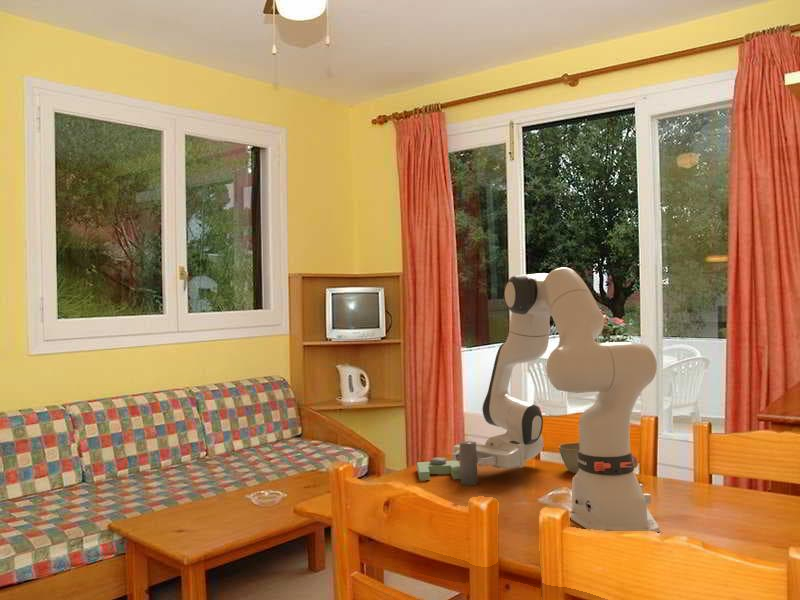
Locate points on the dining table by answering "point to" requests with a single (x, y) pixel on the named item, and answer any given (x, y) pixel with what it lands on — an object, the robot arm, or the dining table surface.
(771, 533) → the dining table surface
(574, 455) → the flower pot
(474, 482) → the grey tall cylinder
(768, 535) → the dining table surface
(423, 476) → the green footed base
